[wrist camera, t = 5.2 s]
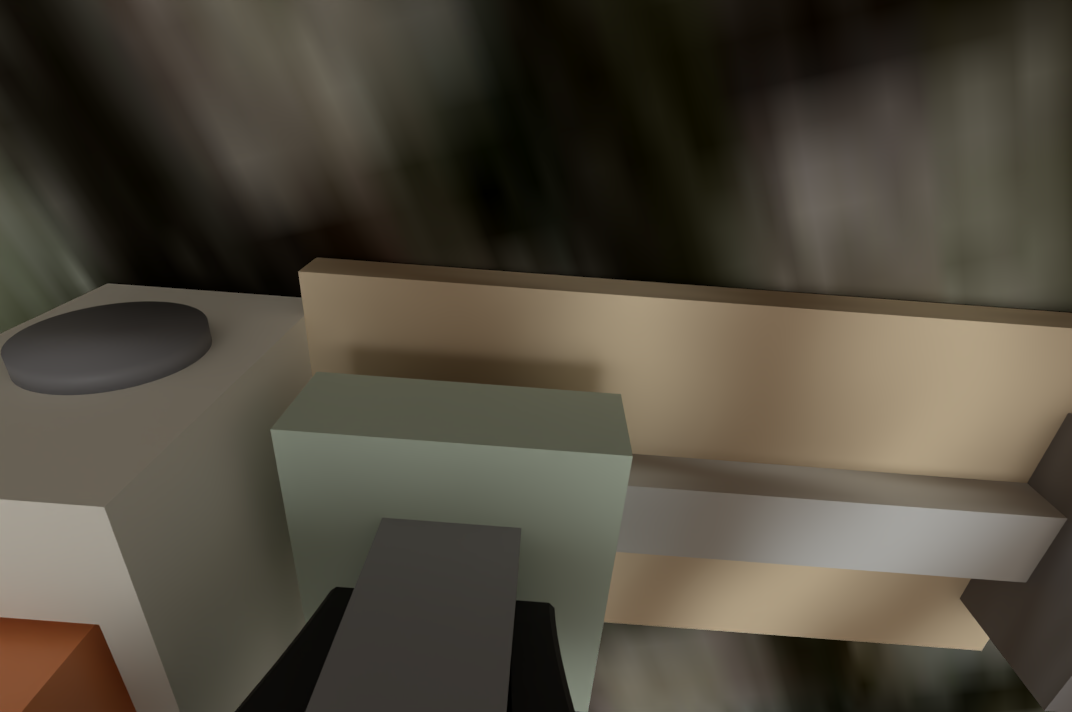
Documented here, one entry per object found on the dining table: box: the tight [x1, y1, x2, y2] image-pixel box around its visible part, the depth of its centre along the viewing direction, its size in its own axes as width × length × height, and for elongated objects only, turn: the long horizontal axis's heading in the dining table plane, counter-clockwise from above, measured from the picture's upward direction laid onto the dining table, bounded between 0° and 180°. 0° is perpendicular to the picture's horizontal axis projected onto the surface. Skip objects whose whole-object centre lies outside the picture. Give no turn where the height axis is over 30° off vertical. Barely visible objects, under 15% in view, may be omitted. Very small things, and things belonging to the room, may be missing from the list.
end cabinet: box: [0, 283, 312, 712], centre depth 12 cm, size 5×8×7 cm, turn 176°
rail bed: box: [298, 257, 1072, 712], centre depth 13 cm, size 19×10×4 cm, turn 86°
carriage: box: [270, 372, 633, 712], centre depth 10 cm, size 6×7×7 cm
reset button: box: [0, 617, 136, 712], centre depth 9 cm, size 3×3×2 cm
